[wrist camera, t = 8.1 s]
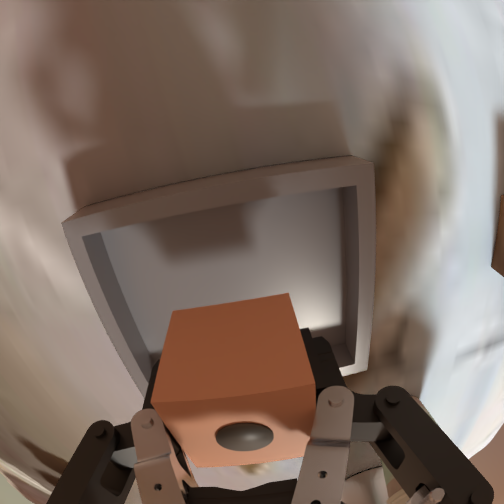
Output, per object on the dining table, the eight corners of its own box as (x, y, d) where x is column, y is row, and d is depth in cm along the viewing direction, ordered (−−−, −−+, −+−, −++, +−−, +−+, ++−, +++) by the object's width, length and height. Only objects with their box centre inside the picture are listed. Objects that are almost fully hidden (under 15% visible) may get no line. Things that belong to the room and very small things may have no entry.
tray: (354, 343, 22) (367, 369, 19) (153, 374, 22) (147, 402, 19) (351, 155, 16) (373, 163, 13) (84, 206, 16) (61, 222, 13)
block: (288, 292, 13) (316, 385, 8) (297, 372, 15) (316, 455, 10) (172, 310, 13) (150, 404, 8) (202, 385, 15) (196, 469, 10)
